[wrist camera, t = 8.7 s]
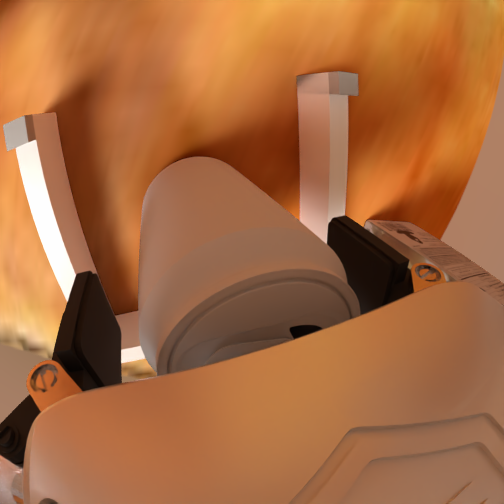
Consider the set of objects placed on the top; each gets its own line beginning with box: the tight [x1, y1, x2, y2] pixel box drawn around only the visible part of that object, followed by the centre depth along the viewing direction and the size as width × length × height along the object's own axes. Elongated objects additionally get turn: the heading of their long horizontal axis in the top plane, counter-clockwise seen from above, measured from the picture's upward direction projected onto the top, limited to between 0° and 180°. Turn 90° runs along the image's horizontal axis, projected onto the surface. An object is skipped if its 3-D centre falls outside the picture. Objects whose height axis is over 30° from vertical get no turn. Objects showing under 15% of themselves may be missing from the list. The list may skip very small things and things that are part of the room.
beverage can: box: [138, 157, 360, 376], centre depth 12 cm, size 6×6×12 cm
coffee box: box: [364, 220, 504, 305], centre depth 18 cm, size 9×6×16 cm
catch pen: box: [3, 71, 359, 363], centre depth 15 cm, size 16×15×4 cm
